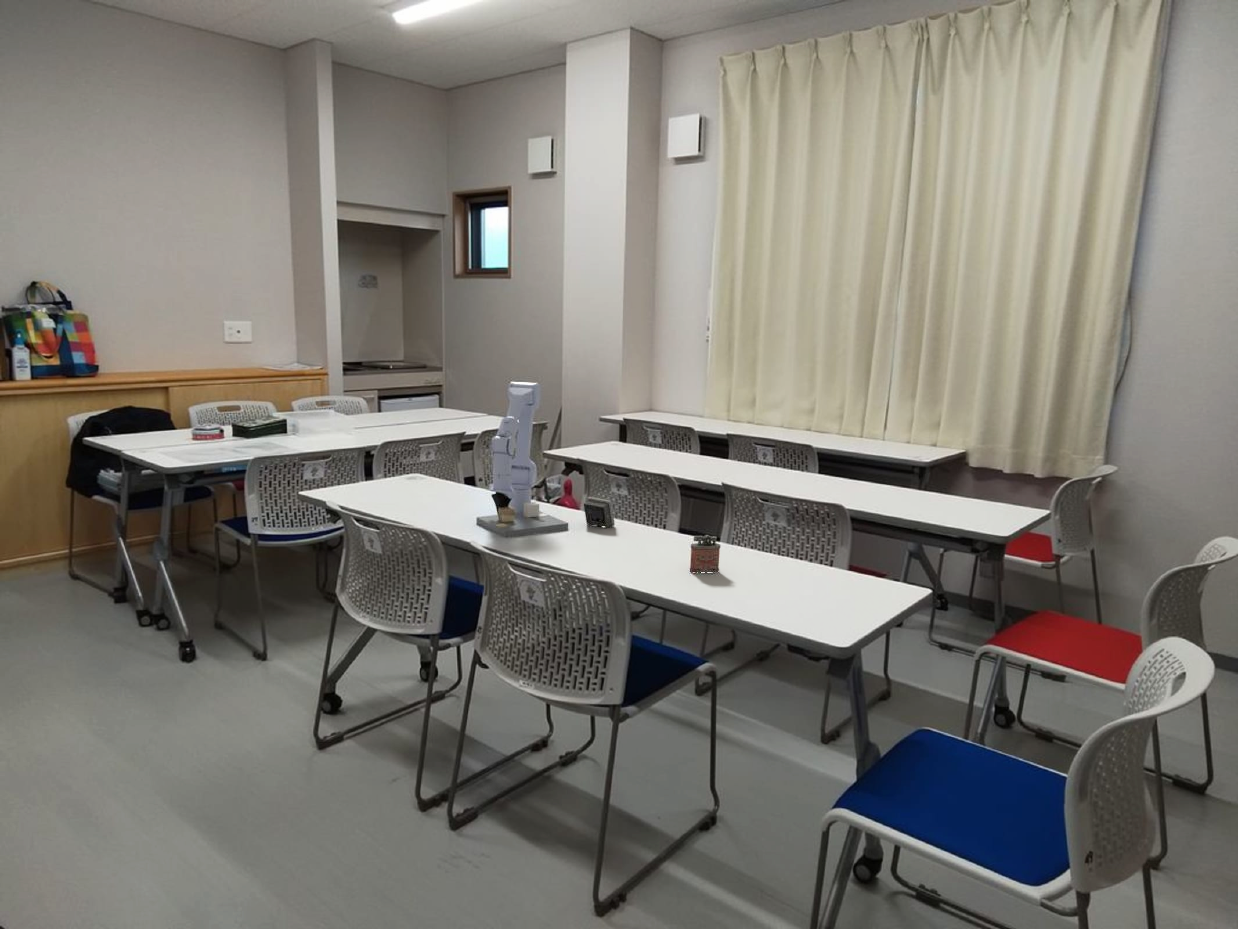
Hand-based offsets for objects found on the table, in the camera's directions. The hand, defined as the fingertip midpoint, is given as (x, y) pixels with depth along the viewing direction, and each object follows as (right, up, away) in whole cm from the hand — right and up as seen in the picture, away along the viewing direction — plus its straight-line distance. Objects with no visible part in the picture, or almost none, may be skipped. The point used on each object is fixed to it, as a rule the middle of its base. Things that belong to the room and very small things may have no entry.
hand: (501, 516), depth 262 cm
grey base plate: (+6, -3, 0) cm, 7 cm away
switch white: (+9, 0, +5) cm, 10 cm away
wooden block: (+2, -1, -2) cm, 3 cm away
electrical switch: (+31, -4, +4) cm, 31 cm away
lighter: (+60, -13, -41) cm, 74 cm away
